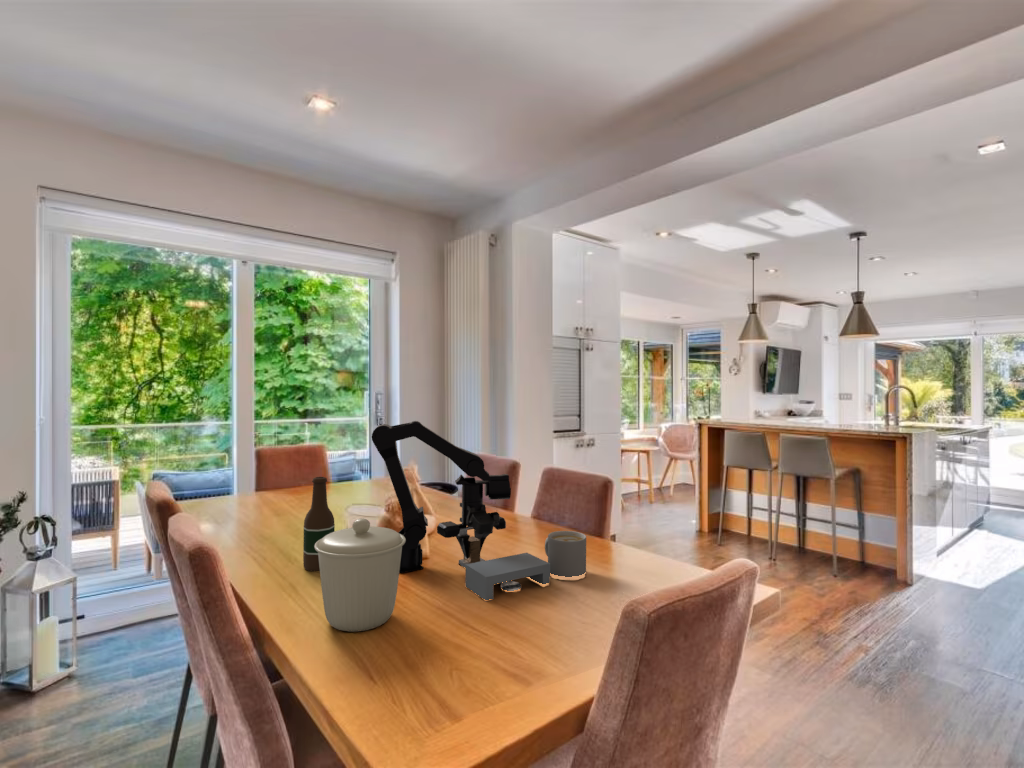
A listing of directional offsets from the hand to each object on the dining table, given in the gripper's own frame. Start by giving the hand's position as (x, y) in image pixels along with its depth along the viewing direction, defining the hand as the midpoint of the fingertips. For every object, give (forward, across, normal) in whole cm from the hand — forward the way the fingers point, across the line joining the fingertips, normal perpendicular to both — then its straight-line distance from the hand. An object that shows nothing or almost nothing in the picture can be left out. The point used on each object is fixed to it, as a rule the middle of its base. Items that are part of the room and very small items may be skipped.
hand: (471, 557), depth 144 cm
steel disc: (+2, 0, -20) cm, 20 cm away
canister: (+2, -36, -18) cm, 41 cm away
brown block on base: (+2, 0, -7) cm, 7 cm away
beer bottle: (+2, -36, +20) cm, 41 cm away
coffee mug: (+2, +18, -18) cm, 25 cm away
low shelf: (+2, 0, -19) cm, 19 cm away
